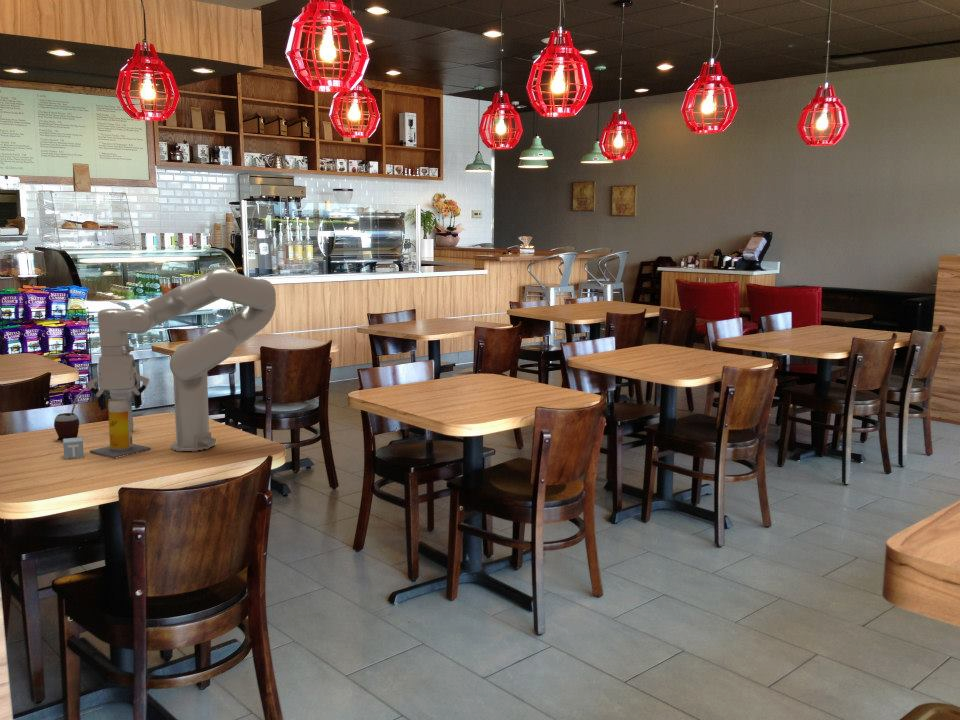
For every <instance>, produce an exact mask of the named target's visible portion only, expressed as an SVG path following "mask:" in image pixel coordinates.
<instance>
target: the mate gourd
mask: <svg viewBox="0 0 960 720" xmlns="http://www.w3.org/2000/svg"><path fill="white" fill-rule="evenodd" d="M83 392H84V390H81V391H80V392H79V393H78V394H77V395H76V396H75V398H74V400H73V406H72V409H71V412H65V413H59V414H57V415H56V416H55V418H54V422H53V427H54V430H55V432H56V434H57V440H58V441H59V440H60V441H61V443H63V439H68V438H78V436H79V435H78V434H79V429H80V419H79V417H78V415H77V414H76V413H74V411H75V408H76V404H77V401H78V398H79V397H80V395H82V393H83Z"/></svg>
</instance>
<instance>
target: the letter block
mask: <svg viewBox="0 0 960 720" xmlns="http://www.w3.org/2000/svg"><path fill="white" fill-rule="evenodd" d="M83 441H84V440H83V437H80V436H79V437H78V436H77V438H68V439H63V442H62V445H63V459H65V460H68V459H67V458H75V459H78V458H77V457H84V458H85V455H84V442H83Z"/></svg>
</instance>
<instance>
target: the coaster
mask: <svg viewBox="0 0 960 720" xmlns="http://www.w3.org/2000/svg"><path fill="white" fill-rule="evenodd" d="M150 449H151V450H152V447H150V446H146V445H140V444H136V443H132V447H131V448H130V449H129V450H125V451H114V450H112V448H110V445H109V446H104V447H100V448H95V449H90V450H89V453H90V452H91V454H94V453H95V454H94V455H98V454H99V456H102V455H104V456H103V457H106V456H109V457H108V458H110V457H113V458H112V459H114V458H115V459H117V458H116V457H119V456H123V455H127V454H131V455H133V454H132V453H135V454H137V453H136V452H139V453H142V452H141V451H143V452H147V451H150ZM146 450H147V451H146ZM127 456H128V455H127ZM123 457H124V456H123ZM119 458H120V457H119Z"/></svg>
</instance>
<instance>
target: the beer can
mask: <svg viewBox="0 0 960 720" xmlns="http://www.w3.org/2000/svg"><path fill="white" fill-rule="evenodd" d="M107 410H108V428H109V429H108V431H109V446H110V448H112V450H114V451H125V450H129V449H130V448H131V447H132V444H133V433H132V432H133V430H132V425H131V404H130V401H129V399H128V398H113V399H111V398H110V399H109V401H108V403H107Z"/></svg>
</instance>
